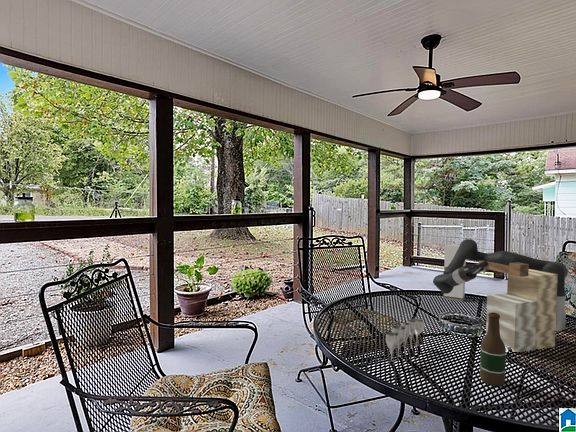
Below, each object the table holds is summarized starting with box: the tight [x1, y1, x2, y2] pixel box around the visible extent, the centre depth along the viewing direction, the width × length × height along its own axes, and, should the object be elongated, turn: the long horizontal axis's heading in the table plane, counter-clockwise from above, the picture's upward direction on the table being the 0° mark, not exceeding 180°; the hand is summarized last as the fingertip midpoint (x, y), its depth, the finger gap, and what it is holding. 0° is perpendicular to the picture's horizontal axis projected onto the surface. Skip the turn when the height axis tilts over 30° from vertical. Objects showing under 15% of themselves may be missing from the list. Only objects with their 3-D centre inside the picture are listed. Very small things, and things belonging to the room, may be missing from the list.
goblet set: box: [385, 317, 425, 362], centre depth 145 cm, size 28×6×13 cm, turn 136°
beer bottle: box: [479, 312, 507, 387], centre depth 124 cm, size 8×8×24 cm
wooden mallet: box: [478, 261, 529, 277], centre depth 160 cm, size 5×22×5 cm, turn 19°
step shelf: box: [485, 269, 558, 353], centre depth 158 cm, size 24×14×32 cm, turn 109°
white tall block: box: [442, 244, 467, 302], centre depth 234 cm, size 11×11×35 cm
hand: (489, 262), depth 166 cm, fingers closed on wooden mallet, 3 cm apart
